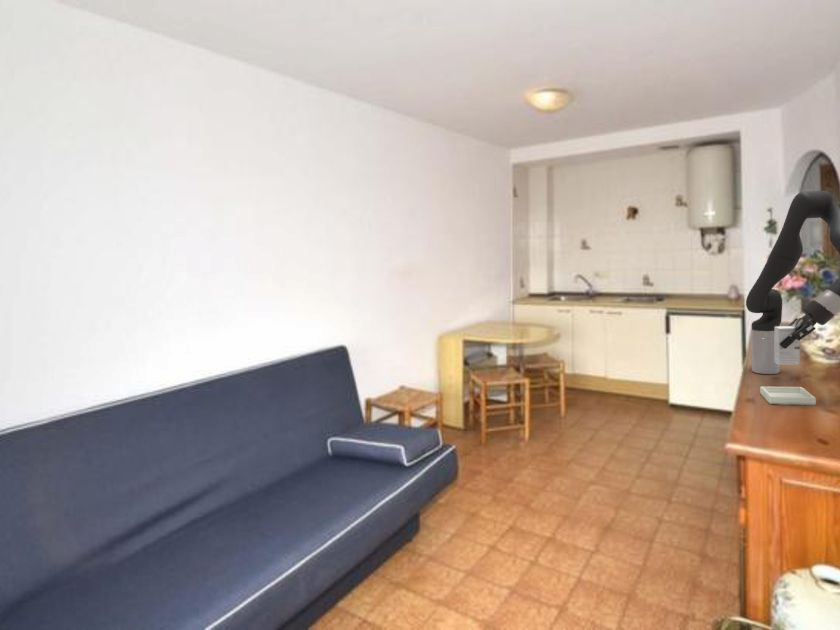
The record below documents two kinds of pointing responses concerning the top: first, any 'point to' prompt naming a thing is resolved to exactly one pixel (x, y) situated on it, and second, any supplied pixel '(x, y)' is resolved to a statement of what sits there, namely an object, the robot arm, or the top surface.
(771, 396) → the tray
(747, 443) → the top surface
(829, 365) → the top surface
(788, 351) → the skincare box
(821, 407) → the top surface
